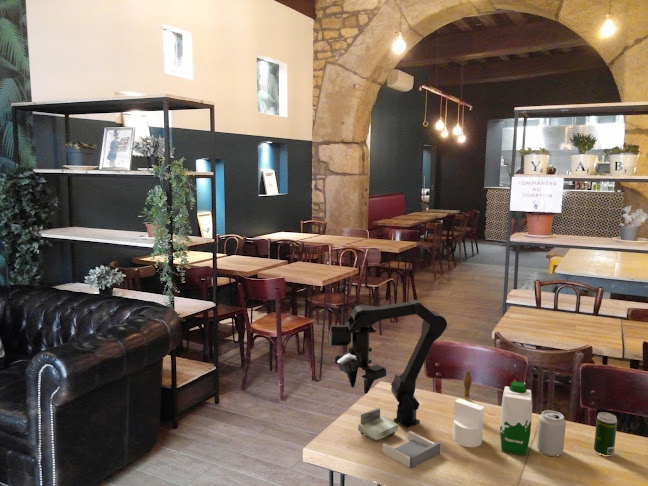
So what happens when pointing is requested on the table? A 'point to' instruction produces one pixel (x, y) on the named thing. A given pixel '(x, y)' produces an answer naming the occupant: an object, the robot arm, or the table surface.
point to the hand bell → (467, 386)
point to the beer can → (605, 433)
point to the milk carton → (516, 418)
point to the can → (551, 433)
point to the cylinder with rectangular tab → (468, 423)
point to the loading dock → (413, 450)
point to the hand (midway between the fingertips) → (359, 390)
